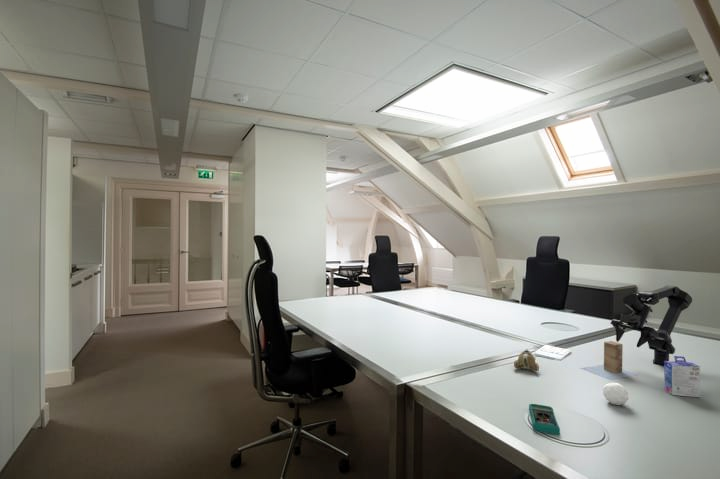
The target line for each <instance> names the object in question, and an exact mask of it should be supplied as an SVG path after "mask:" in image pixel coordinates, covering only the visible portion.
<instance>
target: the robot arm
mask: <svg viewBox="0 0 720 479" xmlns="http://www.w3.org/2000/svg"><path fill="white" fill-rule="evenodd" d="M664 298H667V304H668V306H669V307H668V308H667V310H666V313H665V315H664V317H663V319H662V321H661V323H660V325H659V327H658V329H657V330H656V329H655V328H654V327H651V326H646V325H645V324H647V323H648V320H647V319H648V316H649V314H650V313H653V312H654V311H653V309H652V307H651V306H655V305H657V304H659V303H660V300H662V299H664ZM622 302H623V304H624V305H625V306H626V307H628V308H629V309H630V310H631V311H632V313H631V312H630V313H629V314H623V313H621V315H620V320H618V319H611V321H610V324H611V325H612V326H613V328H615V339H616V340H615V342H617V343H620V342H619V341H620V340H621V339H622V337H623V335H624V334H625V332H626V331H625V330H626V329H628V330H632V331H636V332H640V336H639V339H638V341H637V342H636V347H637V348H641V347H642V346H643V345H644V344H646V343H647V345H648V350H654V352H653V353H654V354H653V359H652V363H653V365H654V364H655V365H660V366H661V365H662V366H664V361H670V355H674V354H675V352H676V348H675V346H674V345H673V341H672V336H671V335H672V332H673V330H674V328H675V326H676V324H677V322H678V320H679V318H680V315H681V313H682V312H683V311H685V310H686V309H688V308H689V307H690V305H691V304H692V302H693V297H692V296H691V295H690V294H689V293H688V292H686V291H684V290H682V289H680V288H679V287H678V286H675V285H665V286H663V287H661V288H657V289H653V290H650V291H648V290H646V291H645V290H643V291H639V292H638V293H635V292H630V294H627V295H626V296H624V297H623V299H622Z"/></svg>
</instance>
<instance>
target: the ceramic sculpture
mask: <svg viewBox="0 0 720 479" xmlns="http://www.w3.org/2000/svg"><path fill="white" fill-rule="evenodd" d="M513 366H514V368H515V369H517V370H518V369H519V370H520V369H524V370H527V371H528V370H532V371H534V372H539V369H540V365H539V363H538V362H536V357H535V355H534V354H533V353H532V352H531V351H530V349H528V348H526V349H524V350H522V351H521V352H520V353H519V354H518V358H517V359H516V360H514V363H513Z"/></svg>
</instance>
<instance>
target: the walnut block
mask: <svg viewBox="0 0 720 479" xmlns="http://www.w3.org/2000/svg"><path fill="white" fill-rule="evenodd" d="M623 348H624V347H623V343H621V342H617V341H614V340H613V341H612V340H608V341H604V342H603V365H604V370H607V371H610V372H612V373H619V372H622V369H623Z"/></svg>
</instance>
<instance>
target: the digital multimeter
mask: <svg viewBox="0 0 720 479" xmlns="http://www.w3.org/2000/svg"><path fill="white" fill-rule="evenodd" d="M528 411H529V413H530V417H531V422H532V423H531V424H532V430H534V431H535V432H539V433H544V434H549V435H557V436H558V435H561V433H560V432H561V427H560V426H559V424H558V421H557V418H556V415H555V412H554V408H553V407H551V406H548V405H543V404H536V403H529V404H528Z"/></svg>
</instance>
